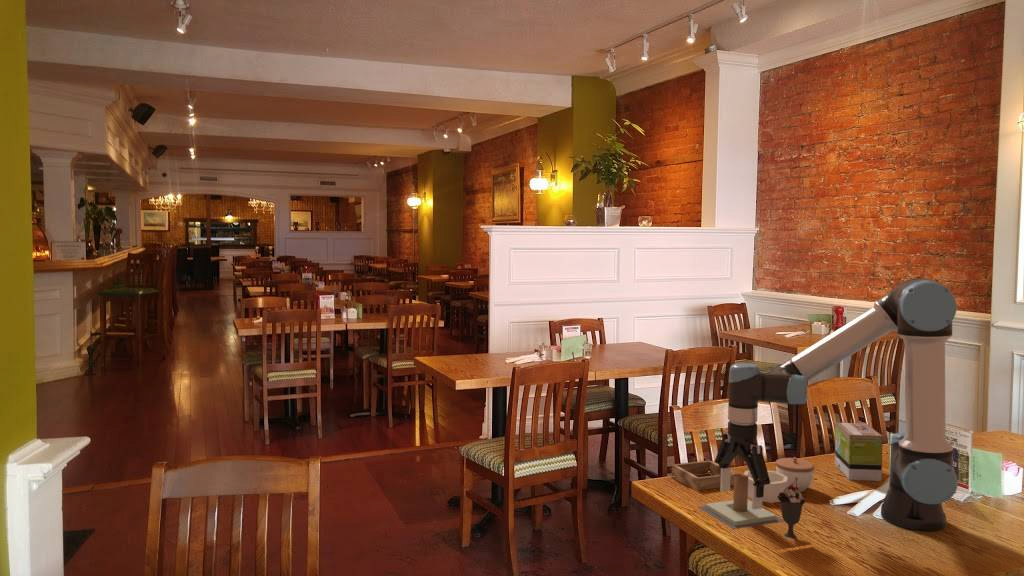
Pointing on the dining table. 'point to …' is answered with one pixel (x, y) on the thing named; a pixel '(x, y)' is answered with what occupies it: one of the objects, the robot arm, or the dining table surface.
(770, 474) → the bowl
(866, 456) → the tea box
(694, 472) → the tray
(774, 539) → the dining table surface
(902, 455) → the robot arm
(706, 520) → the dining table surface
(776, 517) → the mat
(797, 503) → the sundae
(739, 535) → the dining table surface
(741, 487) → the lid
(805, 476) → the lidded jar
